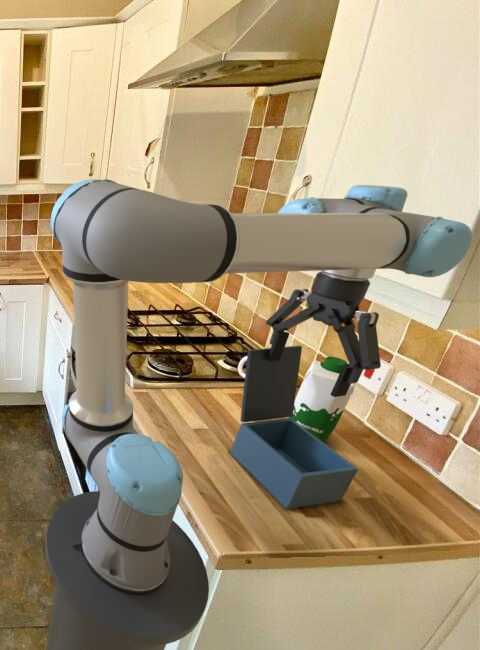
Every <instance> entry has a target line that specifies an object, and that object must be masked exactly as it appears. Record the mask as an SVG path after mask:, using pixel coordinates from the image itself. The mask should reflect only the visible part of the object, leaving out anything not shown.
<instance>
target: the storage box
mask: <svg viewBox="0 0 480 650" xmlns="http://www.w3.org/2000/svg"><path fill="white" fill-rule="evenodd" d="M230 454H231V456H233V457H234V459H236V460H237V461H238V462H239V463H240V465H242V466H243V468H245V470H247V471H248V472H249V473H250V474H251V475H252V476H253V477H254V479H256V480H257V481H258V482H259V483H260V484H261V485H262V486H263V487H264V488H265V489H266V490H267V491H268V492H269V493H270V494H271V495H272V496H273V497H274V498H275V499H276V500H277V501H278V502H279V503H280V505H282V506H283V507H284V508H285V509H286V510H288V509H295V508H302V507H310V506H315V505H323V504H329V503H336V502H341V501H342V500H343V498H344V497H345V495H346V493H347V491H348V489H349V487H350V486H351V484H352V482H353V480H354V478H355V477H356V475H357V473H358V472H359V468H358V467H357V466H356V465H354V464H353V463H351V462H350V461H348V460H347V459H346V458H345V457H344V456H342V455H341V454H339V453H338V452H337V451H335V450H334V449H332V448H331V447H330V446H329V445H328V444H326V442H325V443H323V442H322V441H321V440H319V439H318V438H317V437H315V436H314V435H313V434H311V433H310V432H309V431H307V430H306V429H305V428H303V427H302V426H301V425H299V424H298V423H297V422H295V421H294V420H293V419H291V418H290V417H287V418H278V419H269V420H260V421H251V422H241V423H240V426H239V428H238V431H237V433H236V436H235V439H234V442H233V446H232V447H231V450H230Z"/></svg>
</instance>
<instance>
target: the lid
mask: <svg viewBox="0 0 480 650" xmlns="http://www.w3.org/2000/svg"><path fill="white" fill-rule="evenodd" d="M270 349H271V347H267V348H255V349H247V355H246V356H247V361H246V366H245V378H244V383H243V393H242V402H241V403H242V404H241V412H240V422H241V423H250V422H259V421H268V420H276V419H285V418H290V417H293V410H294V403H295V399H296V396H297V388H298V380H299V373H300V372H299V371H300V367H301V358H302V350H303V346H302V345H288V346H285V348H284V350H283V353H282V356H281V358H280V361H271V362H269V361H267V357H268V354H269V351H270Z"/></svg>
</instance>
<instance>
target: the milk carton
mask: <svg viewBox="0 0 480 650" xmlns="http://www.w3.org/2000/svg"><path fill="white" fill-rule="evenodd" d="M344 364H349V362H348V361H346V360H345V359H342V358H340V357H336V356H326V357H325V359H324V361H318V360H313V361H312V363H311V365H310V366H309V368H308V369H307V372H306V373H305V375H304V378H303V380H302V383H301V385H300V387H299V389H298V392H297V393H296V396H295V403H294V410H293V417H289V418H291V419H293V420H294V421H295V422H297V423H298V424H299V425H301V426H302V427H303V428H305V429H306V430H307V431H309V432H310V433H311V434H313V435H314V436H315V437H317V438H318V439H319V440H321V441H322V442H323V443H325V444H326V442H327V440H329V438H330V436H331V434H332V433H333V432H334V430H335V429H336V427H337V425H338V424H339V421H340V419H341V417H342V415H343V413H344V411H345V409H346V407H347V406H348V403H349V401H350V399H351V396H352V395H353V394H354V389H355V385H356V383H353V384H351V385H350V387H349V389H348V391H347V394H346V396H339V397H333V396H331V395H330V394H331V392H332V390H333V387H334V385H335V383H336V381H337V378H338V376H339V374H340V372H341V369H342V367H343V365H344Z"/></svg>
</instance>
